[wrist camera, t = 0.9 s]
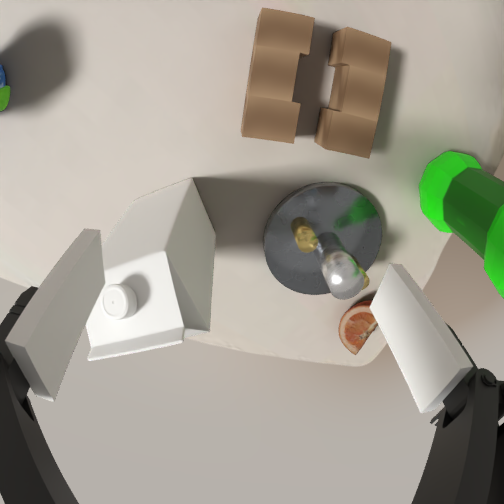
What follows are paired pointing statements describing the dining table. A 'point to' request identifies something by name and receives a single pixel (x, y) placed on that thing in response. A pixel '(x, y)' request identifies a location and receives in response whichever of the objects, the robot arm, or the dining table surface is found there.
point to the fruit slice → (357, 326)
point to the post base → (322, 218)
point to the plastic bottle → (467, 207)
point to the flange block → (343, 89)
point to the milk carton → (155, 275)
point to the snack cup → (3, 90)
